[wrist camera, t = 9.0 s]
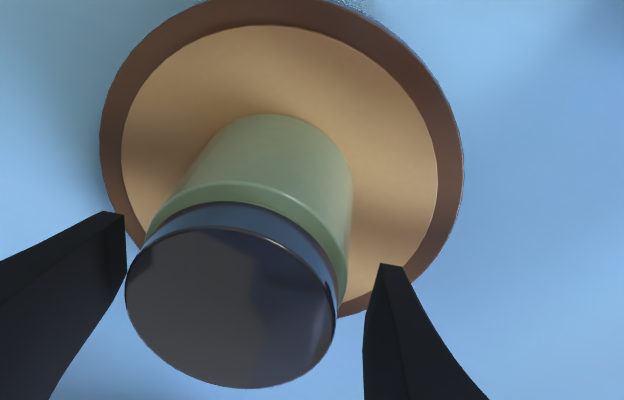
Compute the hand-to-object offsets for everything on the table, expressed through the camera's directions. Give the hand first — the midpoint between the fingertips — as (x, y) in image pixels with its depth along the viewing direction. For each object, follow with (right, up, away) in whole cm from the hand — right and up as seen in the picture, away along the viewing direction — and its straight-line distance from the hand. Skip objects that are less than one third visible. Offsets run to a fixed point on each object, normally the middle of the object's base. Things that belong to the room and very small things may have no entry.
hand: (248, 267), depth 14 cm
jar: (0, +2, +4) cm, 4 cm away
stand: (+1, +4, +6) cm, 7 cm away
